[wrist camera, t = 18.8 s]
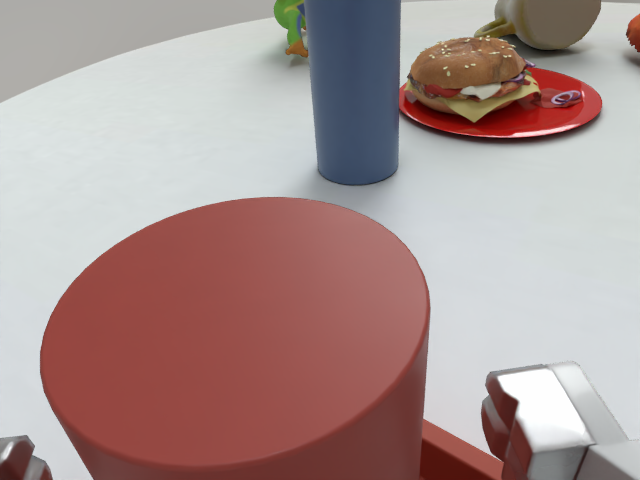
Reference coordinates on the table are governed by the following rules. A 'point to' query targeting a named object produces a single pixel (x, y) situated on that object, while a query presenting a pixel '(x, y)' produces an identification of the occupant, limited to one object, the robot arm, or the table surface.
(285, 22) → the toy
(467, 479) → the red tray
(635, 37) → the tomato
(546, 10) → the mug
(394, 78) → the blue canister
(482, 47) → the hamburger
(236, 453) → the red canister
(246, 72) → the table surface
